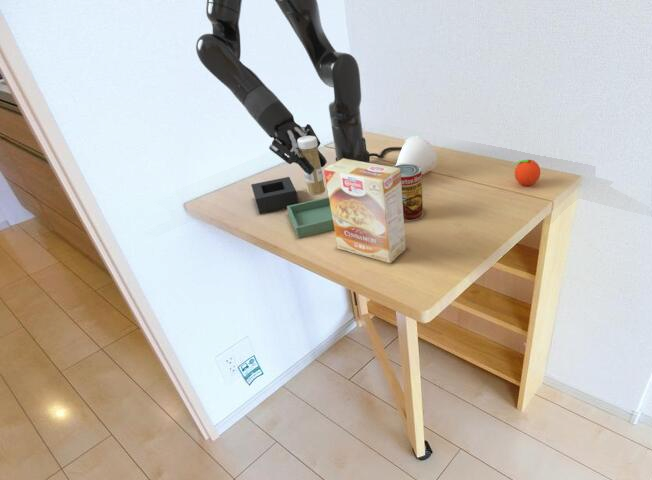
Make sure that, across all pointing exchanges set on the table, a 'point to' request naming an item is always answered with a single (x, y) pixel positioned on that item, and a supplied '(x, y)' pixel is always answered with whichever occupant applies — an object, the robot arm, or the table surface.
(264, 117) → the robot arm
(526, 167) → the clementine
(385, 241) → the coffeecake box
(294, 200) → the holder
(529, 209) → the table surface
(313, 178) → the spice jar
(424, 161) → the rocket engine
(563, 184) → the table surface
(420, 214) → the canned food
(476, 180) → the table surface
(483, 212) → the table surface
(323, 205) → the tray
